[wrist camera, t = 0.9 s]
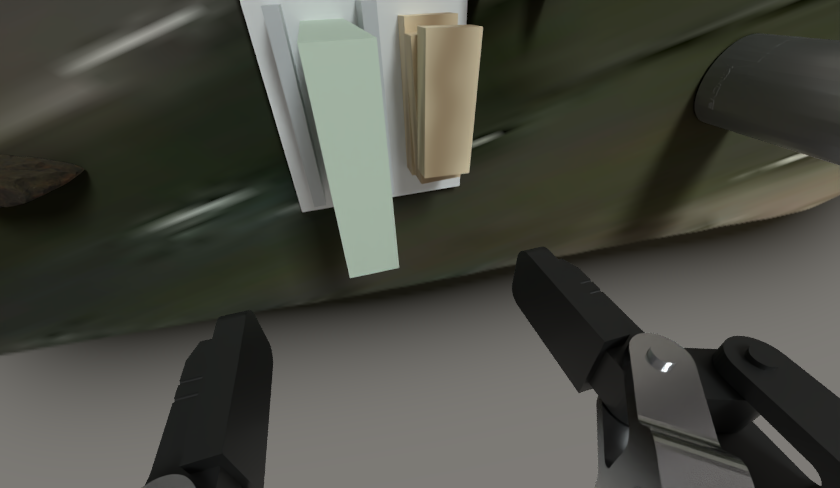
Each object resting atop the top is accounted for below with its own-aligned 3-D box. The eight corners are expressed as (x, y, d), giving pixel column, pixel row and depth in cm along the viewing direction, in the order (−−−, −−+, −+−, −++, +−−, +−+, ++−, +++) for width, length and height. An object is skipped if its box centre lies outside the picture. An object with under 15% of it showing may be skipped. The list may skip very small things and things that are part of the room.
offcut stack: (450, 12, 25) (483, 16, 21) (448, 160, 33) (471, 187, 28) (396, 15, 24) (418, 19, 20) (406, 166, 32) (423, 196, 27)
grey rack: (464, -39, 24) (487, -44, 21) (456, 181, 35) (470, 199, 32) (232, -33, 21) (220, -38, 18) (302, 207, 32) (302, 229, 29)
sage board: (343, 18, 24) (376, 37, 13) (365, 172, 31) (399, 267, 20) (299, 20, 23) (297, 43, 12) (333, 177, 30) (349, 278, 20)
